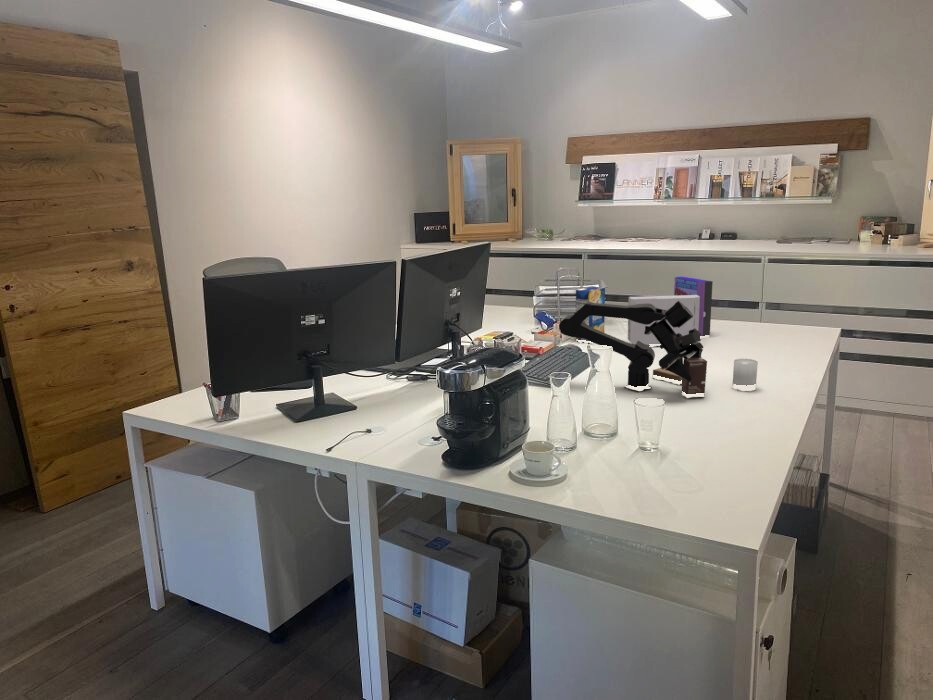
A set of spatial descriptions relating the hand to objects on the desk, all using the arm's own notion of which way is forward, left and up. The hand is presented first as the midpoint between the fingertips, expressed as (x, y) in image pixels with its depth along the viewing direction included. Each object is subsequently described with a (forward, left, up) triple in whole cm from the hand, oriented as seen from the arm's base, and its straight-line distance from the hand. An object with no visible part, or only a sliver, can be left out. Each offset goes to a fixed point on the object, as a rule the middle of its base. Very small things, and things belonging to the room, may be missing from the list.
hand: (698, 377), depth 217 cm
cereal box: (+70, +56, -7) cm, 90 cm away
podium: (+12, +17, -7) cm, 22 cm away
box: (0, +1, -7) cm, 7 cm away
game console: (+46, +51, -7) cm, 69 cm away
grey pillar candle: (+19, -4, -7) cm, 20 cm away
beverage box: (+31, +77, -7) cm, 84 cm away
